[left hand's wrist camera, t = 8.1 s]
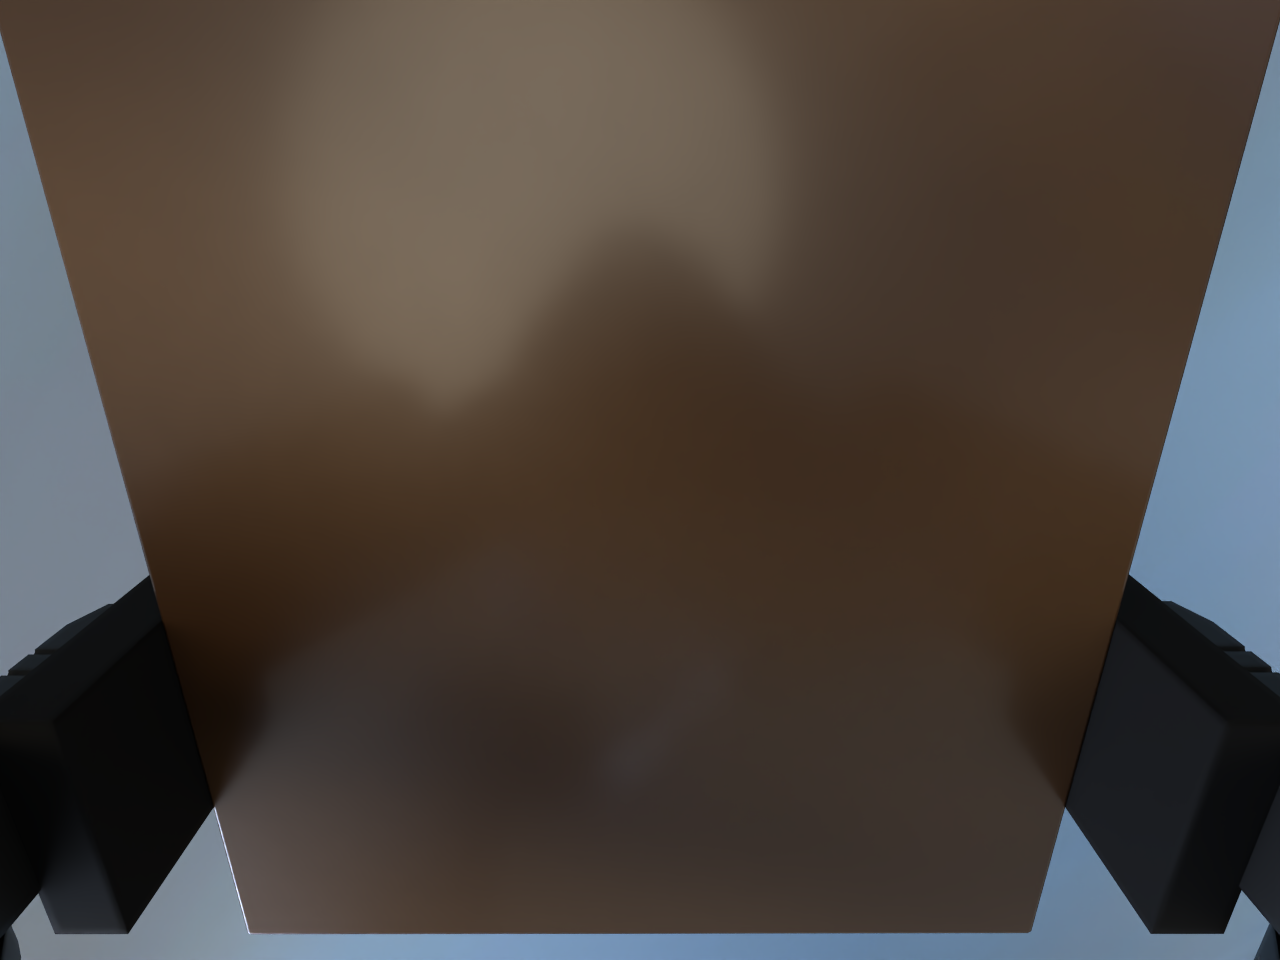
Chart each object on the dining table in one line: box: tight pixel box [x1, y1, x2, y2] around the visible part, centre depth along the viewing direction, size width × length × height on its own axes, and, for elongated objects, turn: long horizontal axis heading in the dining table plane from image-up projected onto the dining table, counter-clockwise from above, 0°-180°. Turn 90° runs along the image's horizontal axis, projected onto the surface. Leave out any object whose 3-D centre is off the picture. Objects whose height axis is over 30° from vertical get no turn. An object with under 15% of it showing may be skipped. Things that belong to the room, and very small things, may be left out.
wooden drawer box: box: [0, 0, 1280, 934], centre depth 11 cm, size 21×11×11 cm, turn 0°
